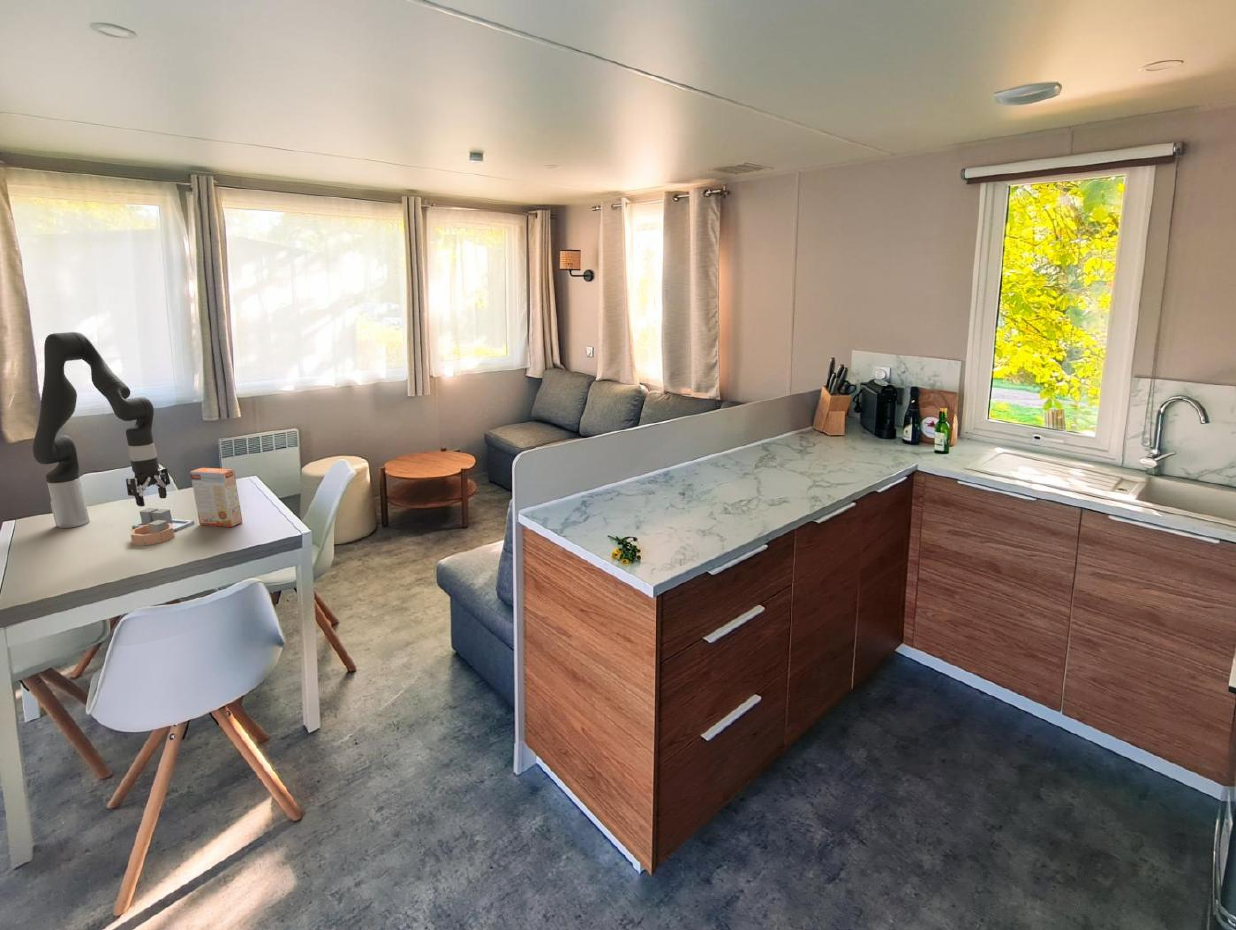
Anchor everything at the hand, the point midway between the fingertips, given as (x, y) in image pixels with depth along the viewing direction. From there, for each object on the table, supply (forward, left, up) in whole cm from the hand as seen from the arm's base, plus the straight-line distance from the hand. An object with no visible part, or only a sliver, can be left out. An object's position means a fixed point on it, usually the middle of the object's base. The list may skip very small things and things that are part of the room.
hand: (152, 502), depth 226 cm
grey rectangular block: (0, 0, -13) cm, 13 cm away
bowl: (-2, 0, -14) cm, 14 cm away
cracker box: (+10, +17, -14) cm, 24 cm away
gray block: (-15, +11, -13) cm, 22 cm away
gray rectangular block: (-9, +11, -13) cm, 20 cm away
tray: (-9, +11, -14) cm, 20 cm away
